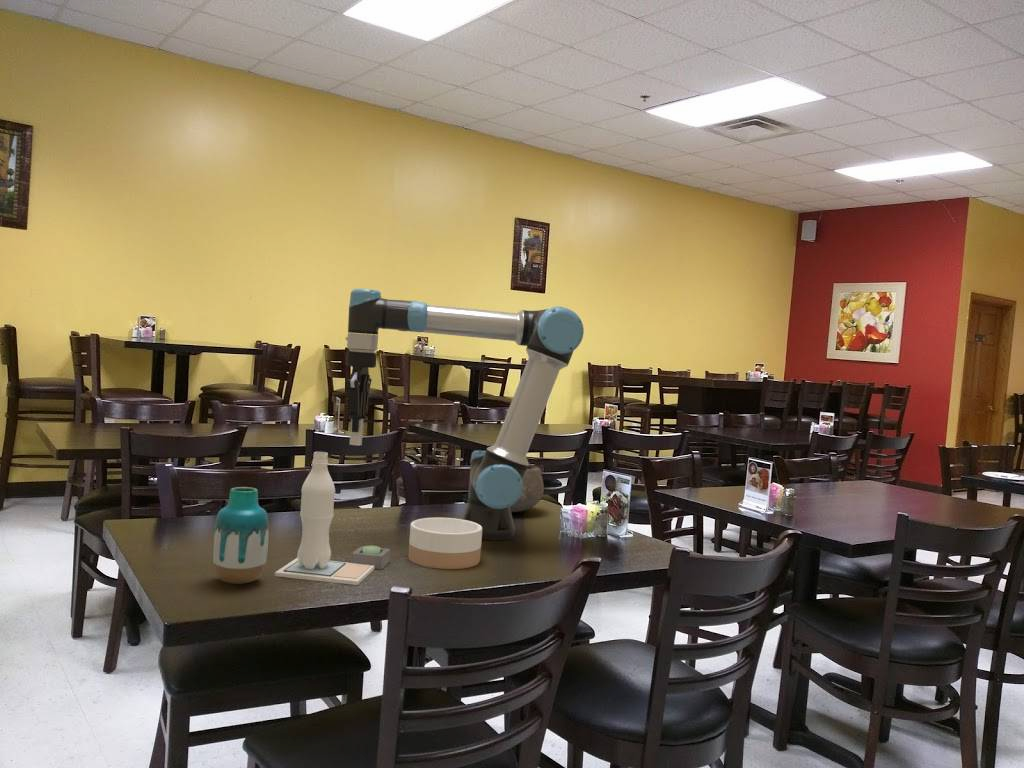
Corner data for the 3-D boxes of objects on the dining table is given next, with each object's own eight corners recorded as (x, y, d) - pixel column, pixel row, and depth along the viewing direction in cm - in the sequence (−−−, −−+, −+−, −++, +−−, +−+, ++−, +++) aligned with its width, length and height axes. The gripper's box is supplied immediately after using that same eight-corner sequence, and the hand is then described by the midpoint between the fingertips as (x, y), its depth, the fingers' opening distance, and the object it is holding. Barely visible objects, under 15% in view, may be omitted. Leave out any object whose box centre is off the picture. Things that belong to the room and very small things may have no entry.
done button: (381, 561, 192) (382, 546, 192) (376, 565, 188) (377, 550, 188) (364, 559, 193) (365, 544, 193) (359, 564, 189) (360, 548, 189)
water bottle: (334, 563, 185) (341, 452, 184) (324, 572, 178) (331, 456, 177) (303, 560, 186) (310, 449, 184) (291, 569, 178) (298, 453, 177)
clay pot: (468, 514, 253) (471, 465, 252) (482, 502, 273) (485, 457, 273) (536, 522, 249) (540, 472, 249) (545, 509, 270) (549, 463, 269)
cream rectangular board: (374, 569, 187) (375, 564, 187) (357, 585, 174) (357, 580, 174) (297, 560, 189) (297, 556, 189) (274, 576, 176) (275, 571, 176)
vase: (218, 573, 175) (224, 483, 174) (270, 576, 176) (275, 486, 175) (204, 588, 164) (210, 492, 163) (259, 591, 165) (265, 495, 164)
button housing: (389, 561, 194) (390, 549, 193) (381, 569, 187) (382, 556, 186) (360, 558, 194) (360, 546, 194) (351, 566, 187) (351, 553, 187)
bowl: (451, 574, 188) (454, 537, 188) (393, 558, 197) (395, 523, 197) (493, 560, 203) (496, 526, 202) (437, 546, 212) (439, 514, 211)
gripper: (355, 350, 215) (349, 440, 216) (338, 349, 202) (332, 446, 203) (383, 352, 214) (377, 443, 215) (369, 352, 201) (362, 449, 203)
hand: (355, 444), depth 209 cm, fingers closed
